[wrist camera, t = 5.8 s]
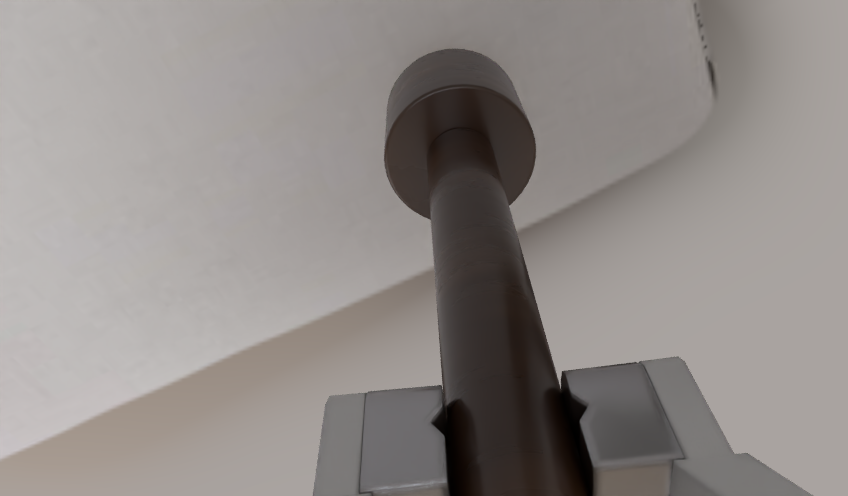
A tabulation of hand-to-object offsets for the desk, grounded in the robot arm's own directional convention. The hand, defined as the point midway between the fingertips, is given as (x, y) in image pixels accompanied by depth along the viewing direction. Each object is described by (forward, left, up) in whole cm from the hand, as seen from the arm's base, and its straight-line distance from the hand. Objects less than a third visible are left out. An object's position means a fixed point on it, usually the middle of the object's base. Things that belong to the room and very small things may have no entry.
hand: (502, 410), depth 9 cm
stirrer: (0, 0, -11) cm, 11 cm away
